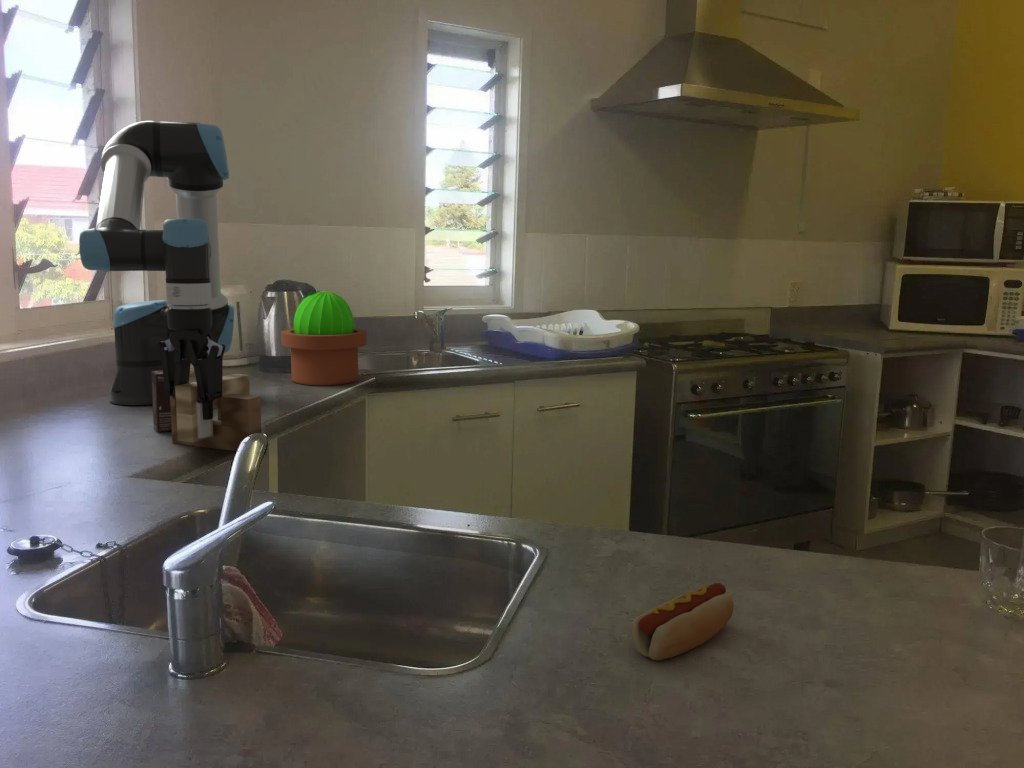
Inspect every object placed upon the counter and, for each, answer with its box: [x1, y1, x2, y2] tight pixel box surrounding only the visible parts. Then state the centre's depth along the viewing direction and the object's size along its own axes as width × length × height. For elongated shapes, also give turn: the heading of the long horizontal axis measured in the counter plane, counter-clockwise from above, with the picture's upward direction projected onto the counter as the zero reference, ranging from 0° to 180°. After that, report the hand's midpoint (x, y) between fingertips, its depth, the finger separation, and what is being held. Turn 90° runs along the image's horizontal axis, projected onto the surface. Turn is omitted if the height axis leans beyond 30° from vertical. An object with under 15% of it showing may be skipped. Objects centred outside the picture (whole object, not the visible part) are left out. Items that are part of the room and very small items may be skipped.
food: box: [630, 582, 734, 661], centre depth 89 cm, size 14×6×5 cm, turn 135°
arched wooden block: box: [175, 373, 251, 443], centre depth 164 cm, size 16×4×10 cm, turn 158°
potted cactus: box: [280, 290, 368, 387], centre depth 238 cm, size 22×22×25 cm
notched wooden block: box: [170, 393, 262, 452], centre depth 165 cm, size 18×4×10 cm, turn 68°
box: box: [151, 370, 172, 433], centre depth 178 cm, size 6×4×12 cm
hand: (195, 435), depth 160 cm, fingers closed on arched wooden block, 3 cm apart
